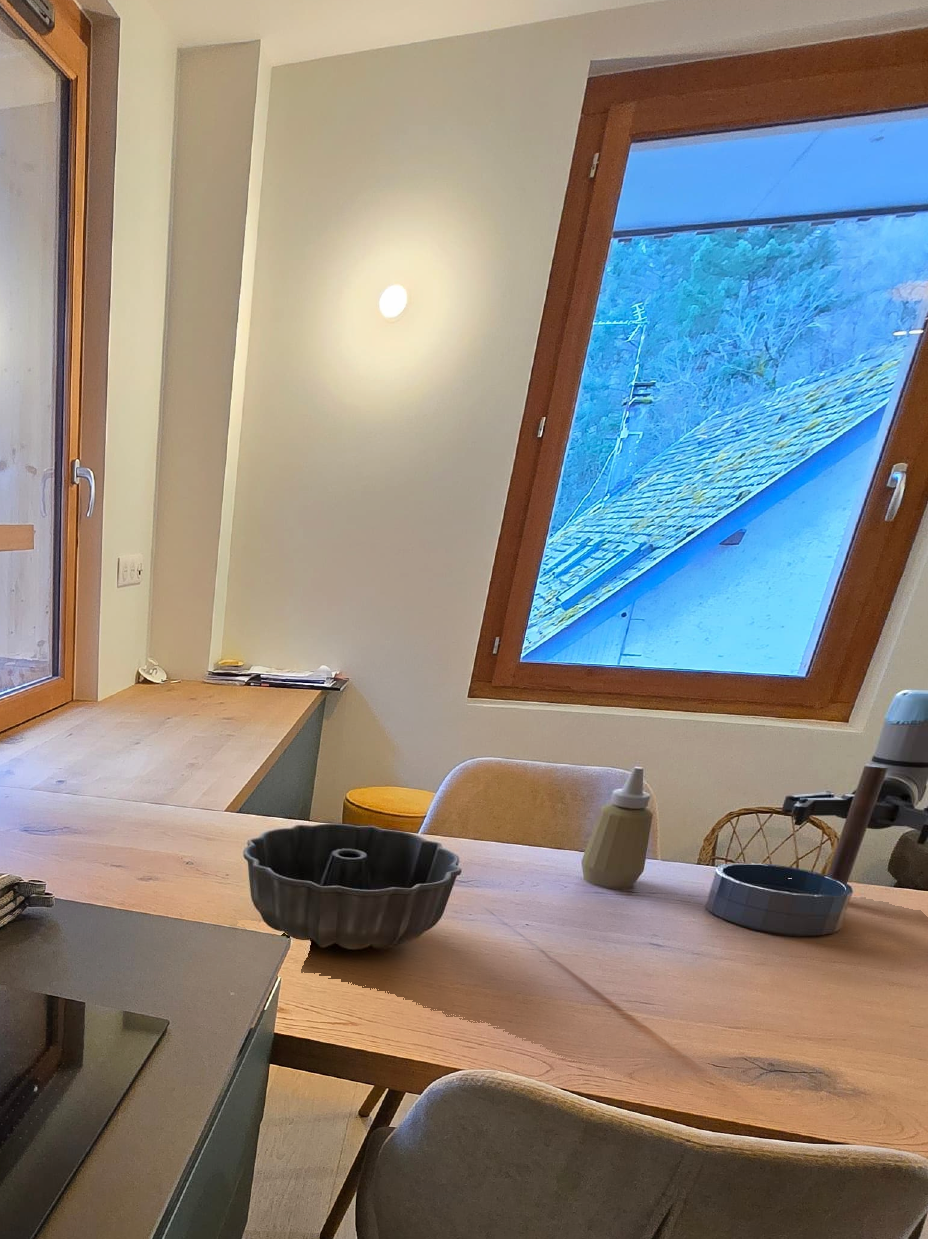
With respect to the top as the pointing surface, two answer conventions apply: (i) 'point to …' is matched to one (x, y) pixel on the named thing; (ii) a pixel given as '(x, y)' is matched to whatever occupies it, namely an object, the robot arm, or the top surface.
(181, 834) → the top surface
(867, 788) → the stirring stick
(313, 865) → the bundt pan
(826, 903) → the bowl
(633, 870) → the squeeze bottle
